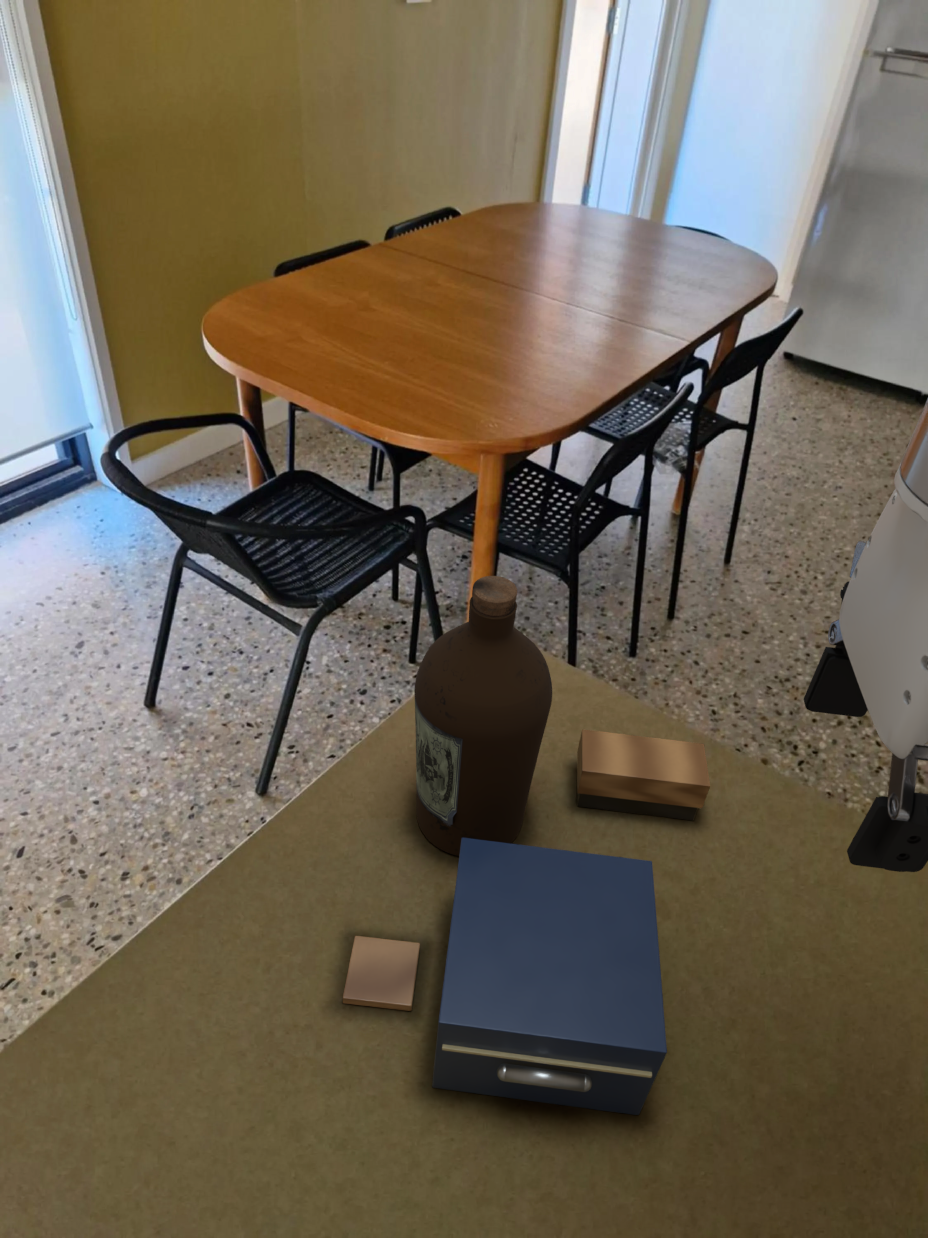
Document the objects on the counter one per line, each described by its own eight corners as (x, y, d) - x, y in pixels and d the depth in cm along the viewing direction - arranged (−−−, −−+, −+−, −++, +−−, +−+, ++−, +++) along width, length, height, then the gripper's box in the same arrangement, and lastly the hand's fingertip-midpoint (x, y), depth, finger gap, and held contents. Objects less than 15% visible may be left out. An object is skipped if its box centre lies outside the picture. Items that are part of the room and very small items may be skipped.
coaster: (342, 998, 64) (342, 1003, 64) (411, 1006, 63) (411, 1011, 64) (354, 935, 67) (355, 941, 68) (420, 942, 67) (419, 948, 68)
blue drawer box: (640, 1135, 58) (669, 1073, 53) (429, 1106, 59) (435, 1042, 53) (629, 929, 70) (652, 860, 65) (454, 907, 71) (461, 837, 65)
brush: (691, 780, 83) (704, 743, 80) (696, 823, 79) (710, 786, 76) (574, 766, 83) (582, 729, 80) (573, 808, 79) (582, 770, 76)
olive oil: (491, 754, 84) (519, 532, 68) (552, 837, 77) (600, 612, 61) (388, 792, 79) (394, 565, 64) (444, 884, 72) (465, 654, 57)
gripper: (1260, 632, 26) (998, 951, 36) (1026, 385, 39) (884, 671, 50) (998, 603, 26) (814, 928, 37) (855, 367, 39) (751, 655, 50)
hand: (855, 780), depth 43 cm, fingers open, 9 cm apart
